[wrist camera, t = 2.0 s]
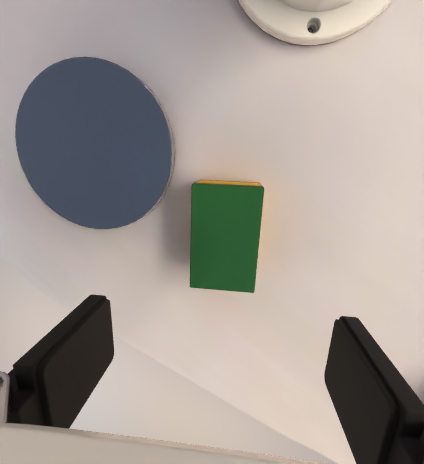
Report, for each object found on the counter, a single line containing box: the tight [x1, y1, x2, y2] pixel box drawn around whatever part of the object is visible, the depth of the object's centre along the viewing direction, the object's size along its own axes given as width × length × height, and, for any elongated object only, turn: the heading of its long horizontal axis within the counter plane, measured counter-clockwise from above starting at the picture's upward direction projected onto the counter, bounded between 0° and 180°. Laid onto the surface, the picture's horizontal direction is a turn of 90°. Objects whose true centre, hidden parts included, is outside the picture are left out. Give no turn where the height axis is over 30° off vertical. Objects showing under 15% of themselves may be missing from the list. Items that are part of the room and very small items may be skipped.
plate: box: [15, 57, 175, 229], centre depth 21 cm, size 13×13×2 cm
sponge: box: [190, 180, 264, 293], centre depth 21 cm, size 8×5×4 cm, turn 178°
